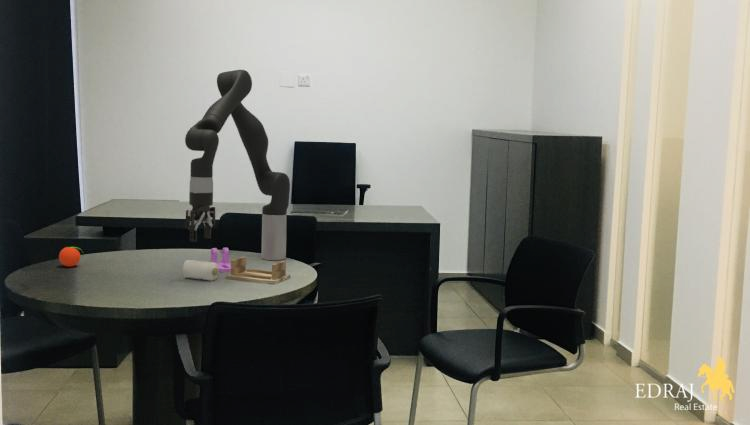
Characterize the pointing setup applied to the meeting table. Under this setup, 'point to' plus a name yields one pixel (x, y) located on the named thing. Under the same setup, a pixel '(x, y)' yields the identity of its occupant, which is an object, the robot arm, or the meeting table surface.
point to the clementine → (69, 256)
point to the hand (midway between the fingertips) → (200, 239)
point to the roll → (200, 270)
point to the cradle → (257, 272)
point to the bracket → (223, 265)
